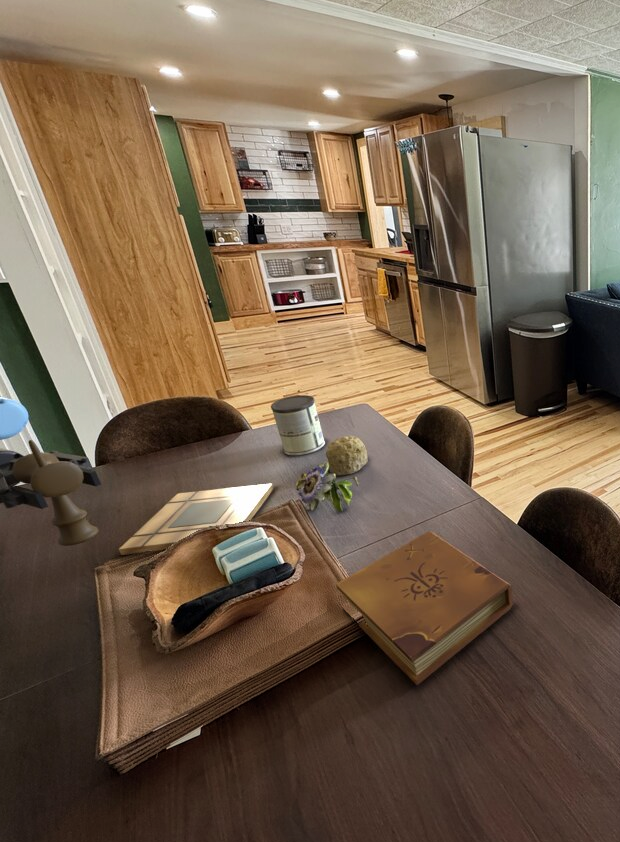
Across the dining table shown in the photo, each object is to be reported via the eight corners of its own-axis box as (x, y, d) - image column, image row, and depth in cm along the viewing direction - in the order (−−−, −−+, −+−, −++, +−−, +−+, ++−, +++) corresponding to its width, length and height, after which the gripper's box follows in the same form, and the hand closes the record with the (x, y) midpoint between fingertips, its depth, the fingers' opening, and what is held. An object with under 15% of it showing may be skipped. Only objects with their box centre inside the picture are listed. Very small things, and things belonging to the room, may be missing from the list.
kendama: (69, 557, 81) (14, 454, 73) (45, 541, 85) (-9, 441, 77) (114, 537, 86) (68, 438, 78) (90, 522, 90) (43, 427, 82)
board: (121, 555, 94) (118, 548, 93) (179, 498, 112) (177, 492, 111) (235, 541, 98) (232, 534, 97) (274, 488, 116) (272, 483, 115)
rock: (327, 480, 126) (307, 461, 118) (348, 444, 133) (331, 425, 125) (359, 486, 125) (342, 468, 117) (380, 450, 131) (364, 430, 123)
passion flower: (316, 528, 110) (281, 488, 108) (356, 498, 118) (324, 460, 116) (329, 520, 103) (292, 478, 101) (371, 489, 110) (337, 449, 108)
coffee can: (281, 445, 136) (268, 400, 131) (321, 435, 142) (310, 392, 137) (286, 459, 129) (273, 412, 123) (328, 448, 135) (317, 402, 130)
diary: (513, 607, 82) (511, 581, 80) (417, 686, 69) (411, 658, 66) (436, 551, 95) (432, 528, 93) (342, 608, 82) (335, 583, 79)
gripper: (65, 460, 95) (144, 479, 89) (-86, 515, 78) (-2, 543, 72) (49, 427, 92) (129, 444, 86) (-112, 476, 75) (-26, 501, 69)
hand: (69, 489), depth 79 cm, fingers closed on kendama, 6 cm apart
